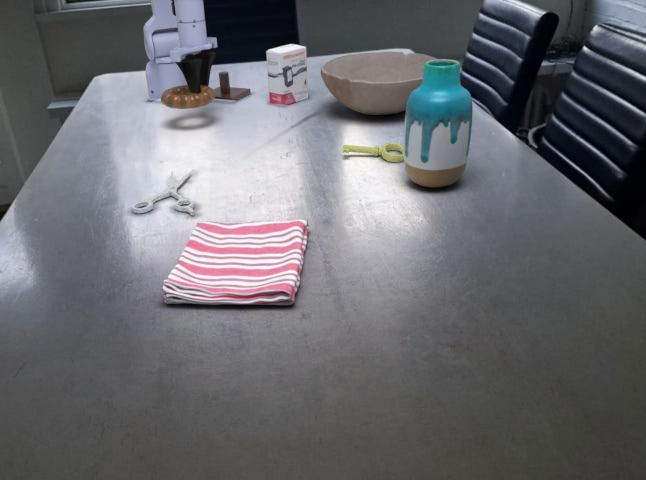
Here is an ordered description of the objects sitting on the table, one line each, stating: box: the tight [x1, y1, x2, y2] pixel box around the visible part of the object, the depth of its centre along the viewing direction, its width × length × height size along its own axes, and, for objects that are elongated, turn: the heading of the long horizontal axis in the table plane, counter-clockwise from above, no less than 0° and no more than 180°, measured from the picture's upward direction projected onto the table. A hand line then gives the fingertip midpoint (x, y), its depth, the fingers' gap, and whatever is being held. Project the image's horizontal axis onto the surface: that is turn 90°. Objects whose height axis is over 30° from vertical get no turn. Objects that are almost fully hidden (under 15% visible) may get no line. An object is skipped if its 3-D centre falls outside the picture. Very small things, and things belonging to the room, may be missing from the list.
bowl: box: [320, 51, 438, 116], centre depth 149 cm, size 26×26×10 cm
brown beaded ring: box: [160, 85, 216, 110], centre depth 143 cm, size 11×11×3 cm
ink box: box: [265, 43, 309, 106], centre depth 160 cm, size 8×5×12 cm, turn 134°
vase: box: [402, 58, 473, 188], centre depth 110 cm, size 11×11×19 cm
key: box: [342, 142, 404, 163], centre depth 127 cm, size 7×12×2 cm, turn 102°
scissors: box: [131, 170, 195, 216], centre depth 117 cm, size 11×1×20 cm
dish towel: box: [161, 218, 310, 306], centre depth 93 cm, size 17×23×4 cm
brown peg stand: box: [213, 71, 252, 101], centre depth 168 cm, size 9×9×6 cm
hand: (199, 90), depth 146 cm, fingers closed on brown beaded ring, 3 cm apart
